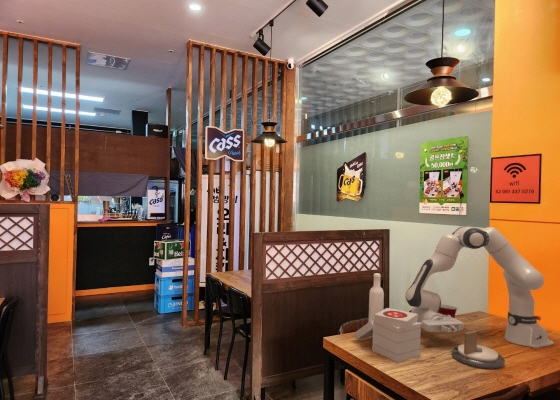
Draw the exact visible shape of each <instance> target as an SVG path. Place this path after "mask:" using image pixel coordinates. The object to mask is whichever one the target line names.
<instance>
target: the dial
mask: <svg viewBox="0 0 560 400" xmlns="http://www.w3.org/2000/svg"><path fill="white" fill-rule="evenodd" d="M463 340H464V341H463V343H462V344H459V345H458V346H457V347H458V352H459V353H460V354H461V355H462V356H464V357H467V358H470V359H473V360H477V361H484V362H493V361H496V360H498V354H499V353H498V352H497V351H495V350H494V349H492V348H489V347H487V346H483V345H479V344H478V331H476V330H472V331H468V332H464V337H463Z"/></svg>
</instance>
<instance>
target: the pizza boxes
mask: <svg viewBox="0 0 560 400" xmlns="http://www.w3.org/2000/svg"><path fill="white" fill-rule="evenodd" d="M417 321H418V314H415V313H411V311H410V312H409V311H405V310H399V309H395V308H389V307H386V308H383V310H382V311H380V312H378V313H376V314H375V319H373V321H370V322H369V321H368V322H369V323H368V322H367V323H366V324H365V325H363V326H362V327H360V328H359V329H357V330H356V331H355V332H354V333H353V336H354V338H355V340H356V341H357V340H362V339H366V338H370V337H372V349H371V350H372V351H373V352H375V353H376V354H378V355H381V356H382V357H384V358H386V359H389V360H391V361H393V362H395V363H400V362H404V361H408V360H412V359H414V358H415V359H416V358H418V357H419V358H420V356H421V333H422V330H421V328H422V326H421V323H418V322H417Z"/></svg>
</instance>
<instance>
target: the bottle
mask: <svg viewBox="0 0 560 400" xmlns="http://www.w3.org/2000/svg"><path fill="white" fill-rule="evenodd" d="M381 277H382V276H381V273H377V272H376V273H373V286H372V287H371V288H370V289H369V294H368V295H369V298H368V322H367V323H369V322H370V321H373V319H375V314H376V313H378V312H380V311H382V310H384V305H385V303H384V302H385V301H384V298H385V293H384V290H383V289H384V288H382V287H381Z"/></svg>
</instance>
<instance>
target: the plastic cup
mask: <svg viewBox="0 0 560 400" xmlns="http://www.w3.org/2000/svg"><path fill="white" fill-rule="evenodd" d="M458 309H459V308H458V307H457V306H453V305H450V304H449V305H448V304H441V307H440V309H439V311H438V313H439V314H446V315H450V316H451V317H452V318H455V319H456V313H457V310H458Z"/></svg>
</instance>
